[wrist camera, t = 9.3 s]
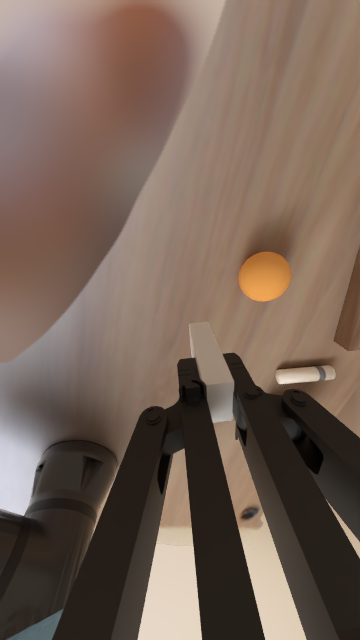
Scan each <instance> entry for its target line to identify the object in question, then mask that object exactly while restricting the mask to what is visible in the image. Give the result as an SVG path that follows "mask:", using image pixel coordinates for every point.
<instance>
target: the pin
mask: <svg viewBox="0 0 360 640" xmlns="http://www.w3.org/2000/svg"><path fill="white" fill-rule="evenodd" d="M275 375H276V379H277V382H278V383H279V384H289V383H300V382H311V381H324V380H333V379H335V377H336V373H335V370H334V368H333V367H332V366H330V365H325V366H312V367H303V368H292V369H280V370H276V373H275Z"/></svg>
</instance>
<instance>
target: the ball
mask: <svg viewBox="0 0 360 640" xmlns="http://www.w3.org/2000/svg"><path fill="white" fill-rule="evenodd" d="M290 280H291V269H290V266H289V264H288V262H287V261H286V260H285V259H284V258H283V257H282V256H280V255H279V254H277V253H273V252H260V253H257V254H255V255H253V256H251V257H250V258H248V259H247V260H246V261H245V262H244V264H243V265H242V267H241V269H240V272H239V284H240V287H241V289H242V291H243V292H244V293H245V295H247V296H248V297H249V298H251V299H253V300H256V301H270V300H273V299H275V298H277V297H279V296H280V295H281V294H283V293H284V292H285V290H286V289H287V287H288V286H289V283H290Z"/></svg>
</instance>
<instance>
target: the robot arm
mask: <svg viewBox="0 0 360 640" xmlns="http://www.w3.org/2000/svg"><path fill="white" fill-rule="evenodd" d="M189 332H190V345H191V355H192V358H187V359H180V360H179V362H178V364H177V367H178V378H179V395H180V397H179V400H178V401H177V403H176V404H174V405H173V406H171V407H169V408H167V409H165V410H164V409H163V408H162V407H158V406H153V407H150V408H147V409H146V410H144V411H143V412H142V414H141V415H140V417H139V420H138V422H137V425H136V427H135V430H134V432H133V435H132V437H131V440H130V442H129V445H128V447H127V450H126V452H125V455H124V458H123V460H122V463H121V465H120V468H119V470H118V473H117V475H116V478H115V480H114V477H115V472H116V467H117V462H116V459H115V457H114V455H113V454H112V453H111V452H110V451H109V450H107V449H106V448H104V447H102V446H100V445H97V444H94V443H91V442H85V441H67V442H62V443H58V444H56V445H53V446H51V447H50V448H48V449H47V450H46V451H45V452H44V454H43V455H42V457H41V459H40V461H39V463H38V465H37V468H36V472H35V478H34V483H33V488H32V494H31V499H30V504H29V506H28V509H27V511H26V513H25V515H24V516H21V515H19V514H15V513H12V512H9V511H6V510H2V509H0V640H137V639H138V633H139V627H140V623H141V618H142V612H143V607H144V603H145V597H146V592H147V587H148V582H149V577H150V571H151V566H152V561H153V556H154V550H155V546H156V541H157V535H158V530H159V525H160V520H161V515H162V510H163V504H164V499H165V494H166V489H167V484H168V478H169V473H170V468H171V463H172V458H173V454H174V453H176V452H178V451H180V450H182V449H184V448H185V458H186V468H187V479H188V490H189V501H190V512H191V523H192V534H193V545H194V555H195V566H196V576H197V588H198V599H199V610H200V620H201V631H202V640H265V637H264V633H263V629H262V625H261V621H260V616H259V612H258V608H257V604H256V600H255V596H254V591H253V587H252V583H251V579H250V575H249V571H248V567H247V562H246V559H245V555H244V550H243V546H242V542H241V538H240V533H239V529H238V525H237V521H236V517H235V513H234V509H233V504H232V500H231V496H230V492H229V488H228V484H227V480H226V475H225V471H224V467H223V463H222V459H221V455H220V451H219V446H218V442H217V438H216V434H215V430H214V426H213V423H217V422H225V421H233V415H234V418H235V420H236V430H235V438H236V440H238V437H239V440H240V443H241V446H242V449H243V452H244V455H245V458H246V461H247V464H248V467H249V470H250V473H251V476H252V479H253V482H254V485H255V488H256V491H257V493H258V496H259V499H260V502H261V505H262V508H263V511H264V514H265V517H266V520H267V523H268V526H269V529H270V532H271V535H272V538H273V541H274V544H275V547H276V550H277V553H278V556H279V559H280V562H281V565H282V568H283V571H284V574H285V576H286V579H287V582H288V585H289V588H290V591H291V594H292V597H293V600H294V603H295V606H296V609H297V612H298V615H299V618H300V621H301V624H302V627H303V630H304V632H305V636H306V639H307V640H360V558H359V557H358V555H357V553H356V551H355V550H354V548H353V546H352V544H351V543H350V541H349V539H348V537H347V536H346V534H345V532H344V530H343V529H342V527H341V525H340V523H339V522H338V520H337V518H336V516H335V515H334V513H333V511H332V510H331V508H330V506H329V505H328V502H329V504H330V505H331V506H332V507H333V509H334V510H335V511H336V512H337V514H338V515H339V516H340V518H341V519H342V520H343V521H344V523H345V524H346V525H347V526H348V528H349V529H350V530H351V531H352V533H353V534H354V535H355V536H356V538H357V539H358V540H359V541H360V438H359V437H358V436H357V435H356V434H355V433H353V432H352V431H351V430H350V429H349V428H347V427H346V426H345V425H344V424H343V423H342V422H340V421H339V420H338V419H337V418H336V417H334V416H333V415H332V414H331V413H330V412H329V411H327V410H326V409H325V408H324V407H323V406H322V405H320V404H319V403H318V402H317V401H316V400H314V399H313V398H312V397H311V396H310V395H308V394H307V393H305V392H303V391H300V390H295V389H291V390H287V391H285V392H284V394H283V396H279V395H272V394H268V393H265V392H264V391H263V390H262V389H261V388H260V387H258V386H256V385H255V384H254V382H253V380H252V378H251V377H250V375H249V373H248V371H247V369H246V368H245V366H244V364H243V362H242V360H241V358H240V357H239V356H238V355H237V354H235V353H226V354H222V352H221V350H220V347H219V345H218V343H217V340H216V338H215V336H214V334H213V331H212V329H211V327H210V324H209V322H199V323H190V324H189ZM113 480H114V483H113V485H112V488H111V491H110V493H109V496H108V498H107V501H106V503H105V506H104V508H103V511H102V513H101V516H100V518H99V521H98V524H97V526H96V529H95V531H94V526H95V522H96V518H97V514H98V510H99V508H100V506H101V504H102V502H103V500H104V498H105V496H106V494H107V492H108V490H109V488H110V486H111V484H112V482H113ZM326 500H327V501H328V502H327V501H326ZM93 531H94V534H93Z"/></svg>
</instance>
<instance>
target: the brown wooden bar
mask: <svg viewBox="0 0 360 640" xmlns="http://www.w3.org/2000/svg"><path fill="white" fill-rule="evenodd" d="M334 341H335V342H336V343H337V344H339V345H340V346H342V347H343V348H344V349H346V350H347V351H353V350H360V247H359V251H358V255H357V258H356V262H355V265H354V269H353V273H352V276H351V280H350V284H349V287H348V291H347V294H346V298H345V302H344V305H343V309H342V312H341V316H340V320H339V323H338V327H337V330H336V334H335V338H334Z"/></svg>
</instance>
